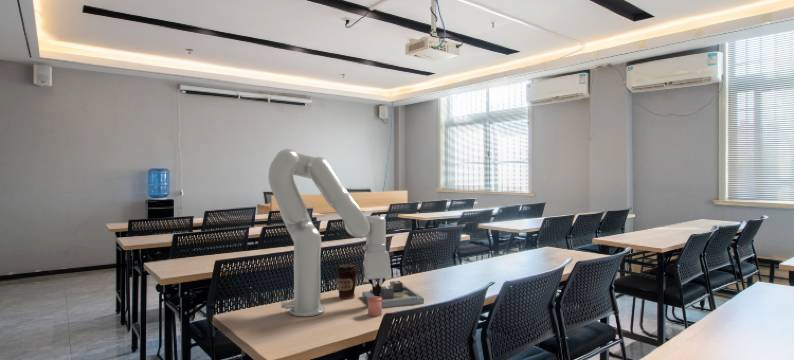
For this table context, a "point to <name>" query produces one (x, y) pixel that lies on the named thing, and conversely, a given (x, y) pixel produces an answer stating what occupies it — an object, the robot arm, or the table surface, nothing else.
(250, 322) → the table surface
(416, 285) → the table surface
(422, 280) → the table surface
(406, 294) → the breaker panel
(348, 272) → the coffee cup
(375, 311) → the cap
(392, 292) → the toggle
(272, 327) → the table surface
